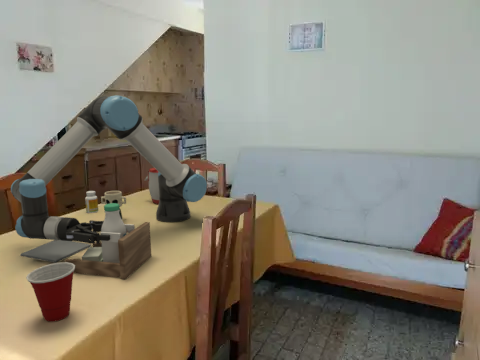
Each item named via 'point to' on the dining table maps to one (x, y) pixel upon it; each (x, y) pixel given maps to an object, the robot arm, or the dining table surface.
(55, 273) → the plastic cup
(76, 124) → the robot arm
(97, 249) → the offcut stack
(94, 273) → the tray
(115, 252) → the milk bottle
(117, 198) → the character mug
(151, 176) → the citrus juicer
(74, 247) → the slate tile
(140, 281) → the dining table surface
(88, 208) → the supplement bottle
